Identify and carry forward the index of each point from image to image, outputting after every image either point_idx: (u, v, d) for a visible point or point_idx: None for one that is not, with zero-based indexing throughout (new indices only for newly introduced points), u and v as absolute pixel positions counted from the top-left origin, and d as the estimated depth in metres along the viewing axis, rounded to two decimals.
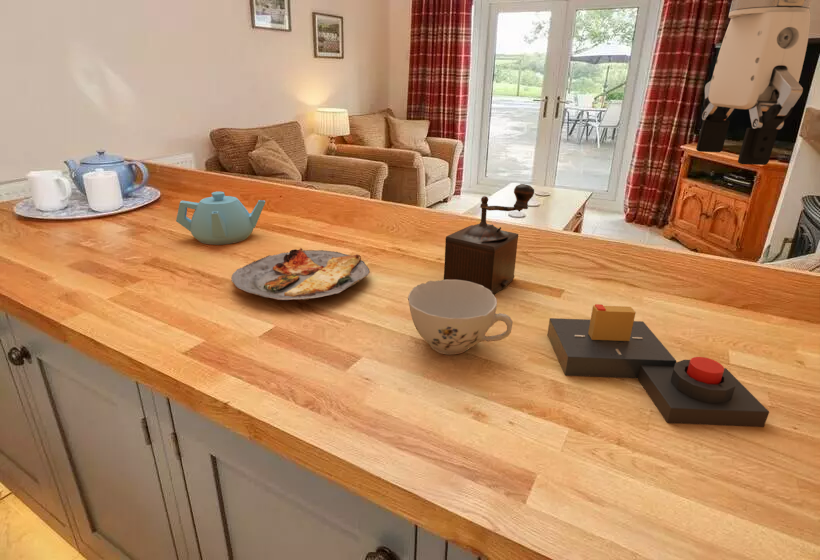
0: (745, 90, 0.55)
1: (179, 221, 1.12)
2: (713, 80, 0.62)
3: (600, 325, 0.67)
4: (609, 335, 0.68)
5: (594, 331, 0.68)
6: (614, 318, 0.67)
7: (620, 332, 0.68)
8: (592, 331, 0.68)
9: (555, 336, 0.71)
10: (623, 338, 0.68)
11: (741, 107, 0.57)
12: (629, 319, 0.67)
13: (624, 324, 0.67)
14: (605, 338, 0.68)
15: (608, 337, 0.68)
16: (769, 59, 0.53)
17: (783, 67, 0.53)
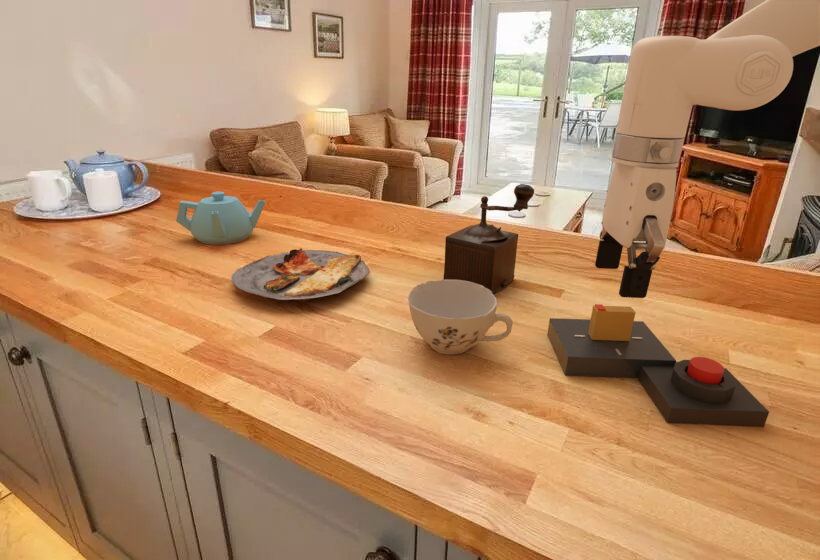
0: (623, 231, 0.60)
1: (179, 221, 1.12)
2: (604, 208, 0.66)
3: (600, 325, 0.67)
4: (609, 335, 0.68)
5: (594, 331, 0.68)
6: (614, 318, 0.67)
7: (620, 332, 0.68)
8: (592, 331, 0.68)
9: (555, 336, 0.71)
10: (623, 338, 0.68)
11: (621, 244, 0.61)
12: (629, 319, 0.67)
13: (624, 324, 0.67)
14: (605, 338, 0.68)
15: (608, 337, 0.68)
16: (640, 209, 0.57)
17: (654, 215, 0.57)
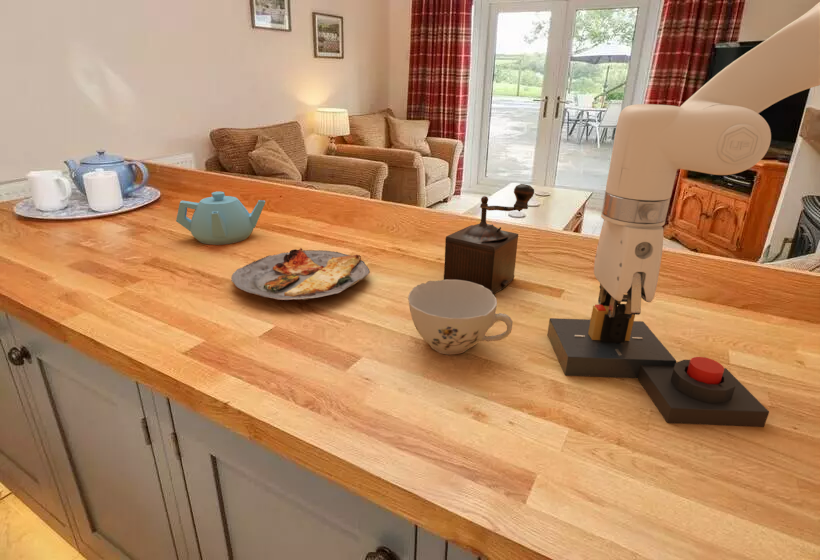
0: (614, 285, 0.62)
1: (179, 221, 1.12)
2: (596, 258, 0.69)
3: (600, 325, 0.67)
4: None
5: (594, 331, 0.68)
6: None
7: None
8: (592, 331, 0.68)
9: (555, 336, 0.71)
10: None
11: (612, 297, 0.63)
12: (629, 319, 0.67)
13: None
14: None
15: None
16: (629, 266, 0.60)
17: (641, 276, 0.61)
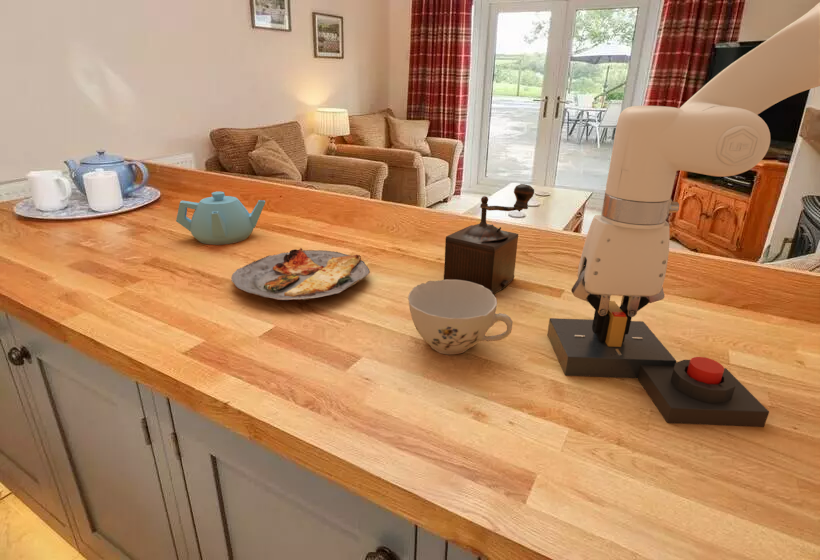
0: (653, 284, 0.63)
1: (179, 221, 1.12)
2: (597, 275, 0.63)
3: None
4: None
5: (622, 337, 0.66)
6: None
7: None
8: (620, 339, 0.66)
9: (555, 336, 0.71)
10: None
11: (644, 295, 0.64)
12: None
13: None
14: None
15: None
16: None
17: None
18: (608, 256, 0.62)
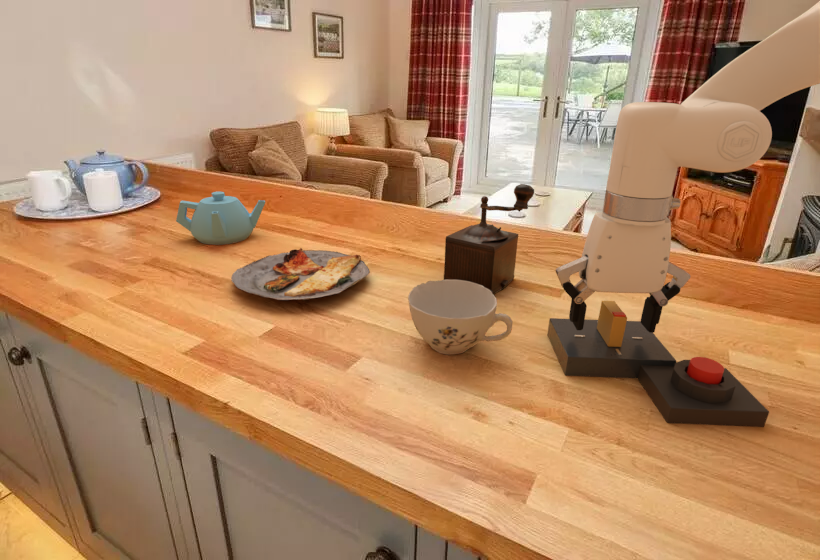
0: (655, 281, 0.63)
1: (179, 221, 1.12)
2: (599, 273, 0.63)
3: None
4: None
5: (622, 337, 0.66)
6: None
7: None
8: (620, 339, 0.66)
9: (555, 336, 0.71)
10: None
11: (646, 292, 0.64)
12: None
13: None
14: None
15: None
16: None
17: None
18: (610, 253, 0.62)
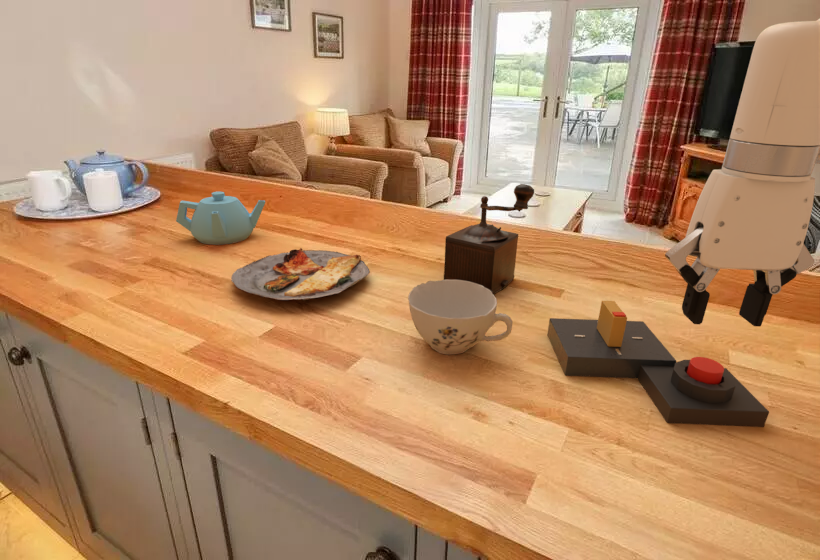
0: (787, 254, 0.51)
1: (179, 221, 1.12)
2: (718, 244, 0.51)
3: None
4: None
5: (622, 337, 0.66)
6: None
7: None
8: (620, 339, 0.66)
9: (555, 336, 0.71)
10: None
11: (774, 269, 0.52)
12: None
13: None
14: None
15: None
16: None
17: None
18: (735, 219, 0.49)
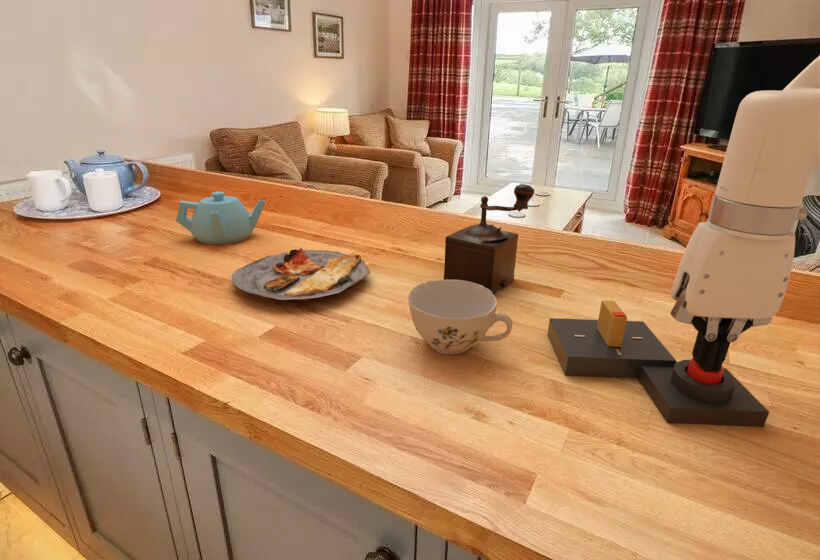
0: (769, 305, 0.53)
1: (179, 221, 1.12)
2: (703, 294, 0.53)
3: None
4: None
5: (622, 337, 0.66)
6: None
7: None
8: (620, 339, 0.66)
9: (555, 336, 0.71)
10: None
11: (757, 318, 0.54)
12: None
13: None
14: None
15: None
16: None
17: None
18: (719, 272, 0.52)
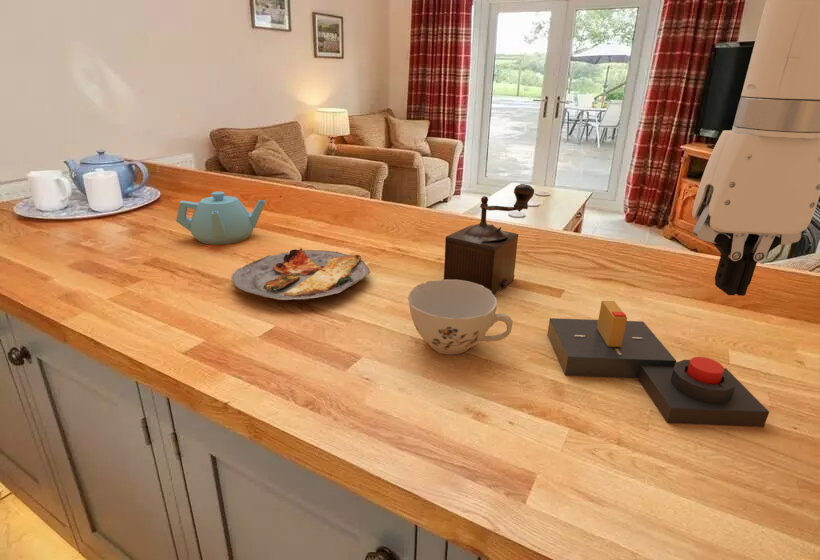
0: (800, 217, 0.49)
1: (179, 221, 1.12)
2: (729, 206, 0.49)
3: None
4: None
5: (622, 337, 0.66)
6: None
7: None
8: (620, 339, 0.66)
9: (555, 336, 0.71)
10: None
11: (786, 233, 0.50)
12: None
13: None
14: None
15: None
16: None
17: None
18: (747, 179, 0.48)
